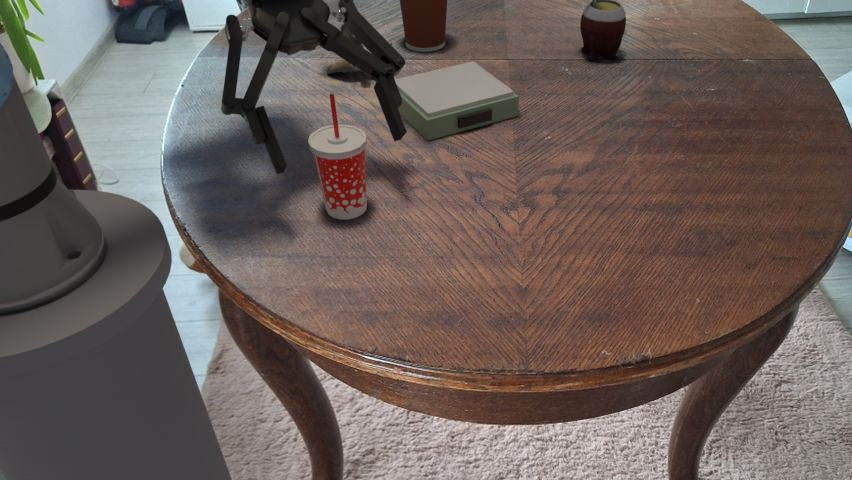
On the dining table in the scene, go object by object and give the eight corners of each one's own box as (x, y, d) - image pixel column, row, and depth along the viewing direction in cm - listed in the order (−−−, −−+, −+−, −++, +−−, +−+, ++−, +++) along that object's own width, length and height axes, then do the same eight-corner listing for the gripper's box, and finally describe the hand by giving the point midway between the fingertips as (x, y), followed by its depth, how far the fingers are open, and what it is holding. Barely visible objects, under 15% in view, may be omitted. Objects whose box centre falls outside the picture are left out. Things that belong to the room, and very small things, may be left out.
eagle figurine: (397, 58, 112) (345, 37, 114) (388, 30, 105) (333, 9, 107) (374, 99, 111) (322, 78, 112) (364, 74, 104) (308, 51, 105)
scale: (429, 142, 96) (428, 117, 93) (388, 103, 104) (386, 79, 101) (520, 117, 101) (521, 93, 99) (474, 82, 109) (474, 59, 107)
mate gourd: (628, 53, 119) (642, -45, 109) (606, 70, 114) (619, -31, 104) (587, 41, 122) (597, -54, 112) (564, 57, 117) (573, -41, 107)
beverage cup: (383, 212, 84) (372, 98, 75) (334, 229, 81) (316, 114, 72) (358, 187, 87) (345, 76, 78) (310, 203, 85) (291, 90, 75)
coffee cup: (402, 31, 123) (398, -44, 116) (456, 34, 123) (455, -41, 115) (392, 53, 116) (386, -25, 109) (449, 56, 116) (447, -22, 108)
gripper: (370, -33, 87) (435, 134, 87) (150, 4, 77) (224, 194, 77) (386, -69, 80) (456, 113, 81) (147, -34, 70) (228, 175, 70)
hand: (343, 153), depth 79 cm, fingers open, 13 cm apart
